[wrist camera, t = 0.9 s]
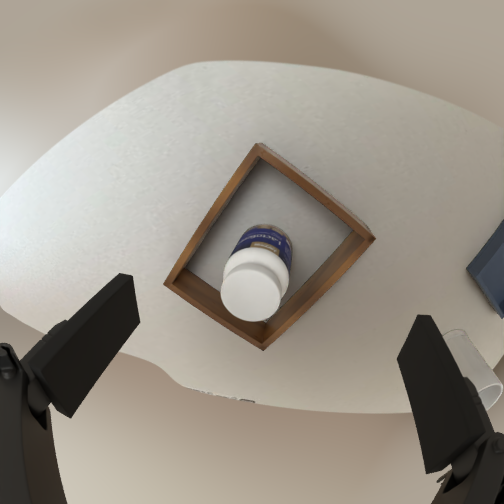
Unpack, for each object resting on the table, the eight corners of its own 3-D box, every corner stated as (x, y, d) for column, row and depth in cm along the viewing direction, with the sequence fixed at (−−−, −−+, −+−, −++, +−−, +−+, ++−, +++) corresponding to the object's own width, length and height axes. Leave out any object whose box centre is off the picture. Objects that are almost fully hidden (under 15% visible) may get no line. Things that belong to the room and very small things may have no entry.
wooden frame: (261, 142, 26) (255, 143, 22) (366, 225, 27) (376, 238, 24) (176, 268, 33) (162, 284, 29) (267, 329, 34) (263, 351, 31)
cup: (422, 369, 34) (443, 430, 23) (433, 330, 31) (463, 394, 20) (463, 358, 32) (488, 413, 21) (476, 320, 29) (512, 375, 18)
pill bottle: (285, 217, 28) (278, 257, 19) (297, 266, 30) (295, 322, 21) (232, 229, 30) (203, 271, 21) (247, 275, 32) (227, 331, 23)
